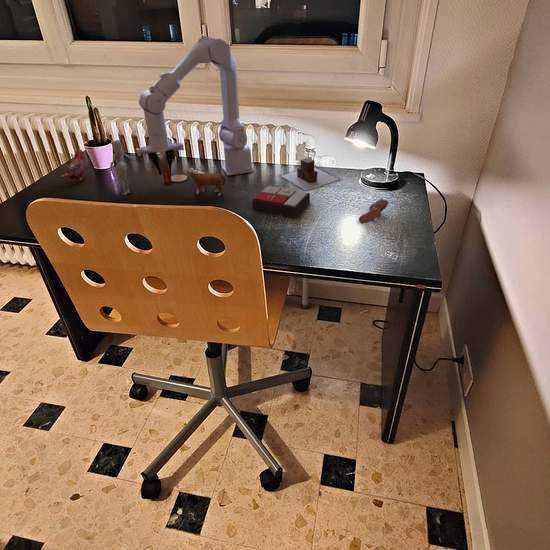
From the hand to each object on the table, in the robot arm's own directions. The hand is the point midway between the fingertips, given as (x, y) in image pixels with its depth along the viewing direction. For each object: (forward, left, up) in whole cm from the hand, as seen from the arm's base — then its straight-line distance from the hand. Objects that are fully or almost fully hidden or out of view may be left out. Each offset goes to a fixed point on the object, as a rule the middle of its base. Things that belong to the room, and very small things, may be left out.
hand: (164, 173), depth 139 cm
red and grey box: (-32, +25, -6) cm, 41 cm away
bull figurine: (-12, +7, -6) cm, 15 cm away
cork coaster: (-5, -8, -6) cm, 11 cm away
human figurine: (+13, -2, -6) cm, 15 cm away
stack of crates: (-49, +8, -6) cm, 50 cm away
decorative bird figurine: (+29, -17, -6) cm, 34 cm away
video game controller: (-55, +42, -6) cm, 69 cm away
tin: (0, 0, -3) cm, 3 cm away
